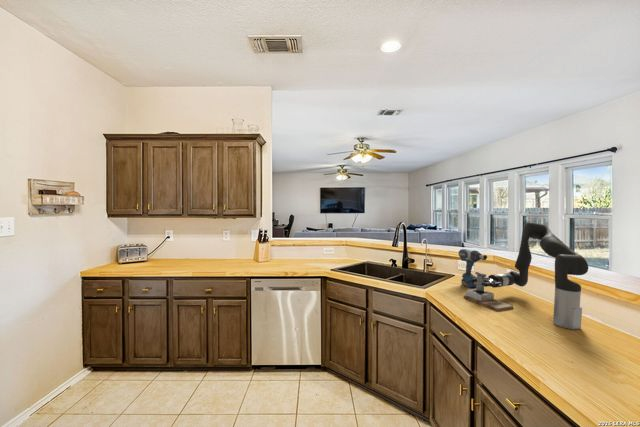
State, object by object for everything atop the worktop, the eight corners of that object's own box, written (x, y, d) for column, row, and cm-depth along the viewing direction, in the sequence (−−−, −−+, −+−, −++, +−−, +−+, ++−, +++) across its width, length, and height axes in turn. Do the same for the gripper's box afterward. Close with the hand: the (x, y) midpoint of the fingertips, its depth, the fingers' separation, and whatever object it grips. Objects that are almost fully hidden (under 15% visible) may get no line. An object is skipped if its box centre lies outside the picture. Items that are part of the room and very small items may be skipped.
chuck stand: (513, 308, 158) (513, 299, 158) (497, 311, 154) (497, 301, 154) (478, 296, 179) (478, 288, 179) (463, 298, 175) (463, 289, 174)
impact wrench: (479, 292, 188) (481, 253, 186) (454, 282, 209) (456, 247, 208) (489, 291, 190) (491, 252, 189) (463, 281, 211) (465, 247, 210)
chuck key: (486, 299, 169) (488, 274, 168) (481, 299, 168) (482, 274, 167) (476, 295, 175) (478, 271, 175) (471, 296, 174) (473, 271, 173)
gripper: (487, 271, 182) (468, 273, 177) (509, 277, 169) (489, 279, 163) (487, 283, 183) (467, 285, 177) (509, 290, 169) (488, 292, 164)
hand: (478, 282), depth 170 cm, fingers open, 8 cm apart
